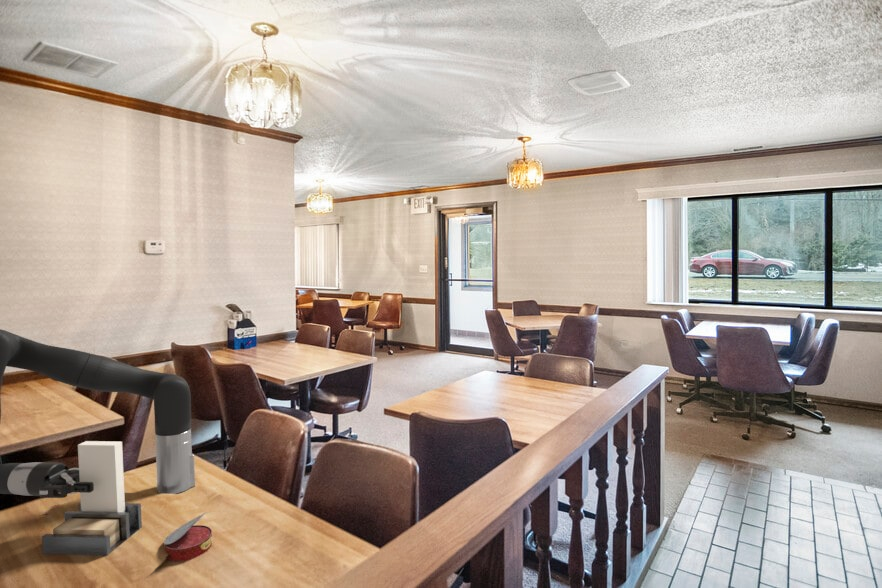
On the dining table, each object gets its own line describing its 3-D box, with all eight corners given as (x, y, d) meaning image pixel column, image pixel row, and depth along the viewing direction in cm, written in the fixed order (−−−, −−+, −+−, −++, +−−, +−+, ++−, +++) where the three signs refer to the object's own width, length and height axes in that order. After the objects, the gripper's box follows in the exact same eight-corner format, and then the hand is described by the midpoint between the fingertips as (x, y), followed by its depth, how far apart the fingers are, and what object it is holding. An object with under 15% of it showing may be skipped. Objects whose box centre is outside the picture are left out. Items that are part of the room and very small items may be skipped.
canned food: (184, 581, 108) (162, 555, 104) (167, 559, 115) (145, 533, 110) (229, 540, 115) (210, 513, 111) (210, 521, 122) (191, 495, 117)
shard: (71, 525, 124) (70, 518, 124) (33, 532, 121) (33, 525, 121) (82, 506, 134) (81, 500, 134) (47, 512, 131) (47, 506, 130)
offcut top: (53, 539, 110) (52, 528, 110) (69, 528, 114) (69, 518, 114) (104, 540, 109) (104, 530, 109) (119, 529, 114) (118, 519, 114)
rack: (42, 560, 109) (41, 527, 108) (83, 531, 120) (81, 502, 120) (107, 561, 108) (106, 529, 108) (142, 532, 120) (140, 503, 119)
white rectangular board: (82, 534, 116) (77, 444, 115) (90, 529, 119) (85, 441, 117) (118, 535, 116) (114, 445, 114) (126, 529, 118) (122, 441, 117)
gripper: (9, 476, 110) (80, 477, 109) (62, 452, 124) (124, 453, 123) (11, 508, 110) (82, 510, 109) (63, 480, 124) (126, 481, 124)
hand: (104, 480), depth 116 cm, fingers open, 7 cm apart
